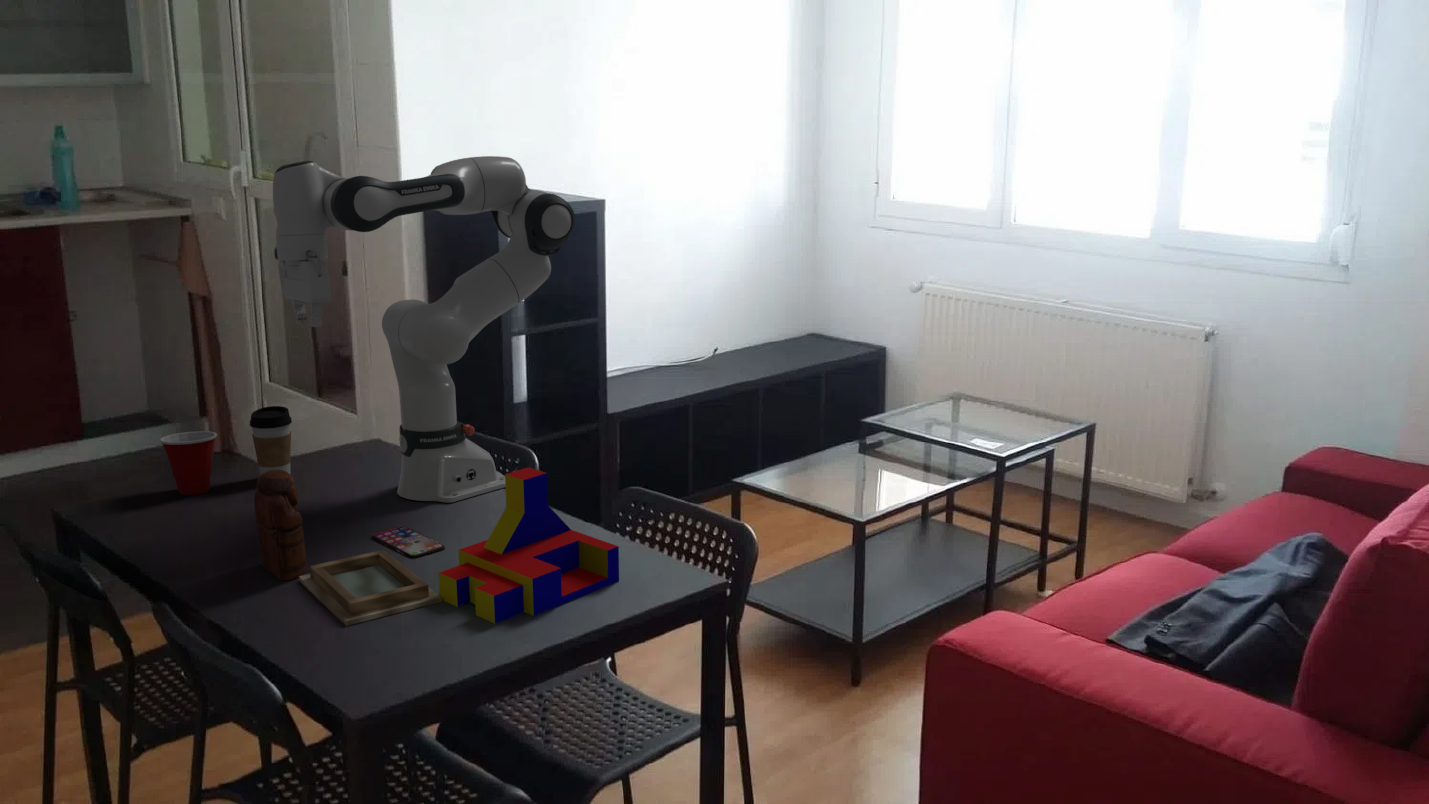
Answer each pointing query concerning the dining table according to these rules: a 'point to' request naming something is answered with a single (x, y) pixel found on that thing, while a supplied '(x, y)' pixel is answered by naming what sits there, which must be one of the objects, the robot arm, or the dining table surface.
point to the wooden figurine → (279, 525)
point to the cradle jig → (367, 587)
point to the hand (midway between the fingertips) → (309, 324)
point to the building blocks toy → (528, 558)
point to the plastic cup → (190, 460)
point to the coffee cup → (272, 438)
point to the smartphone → (408, 542)
